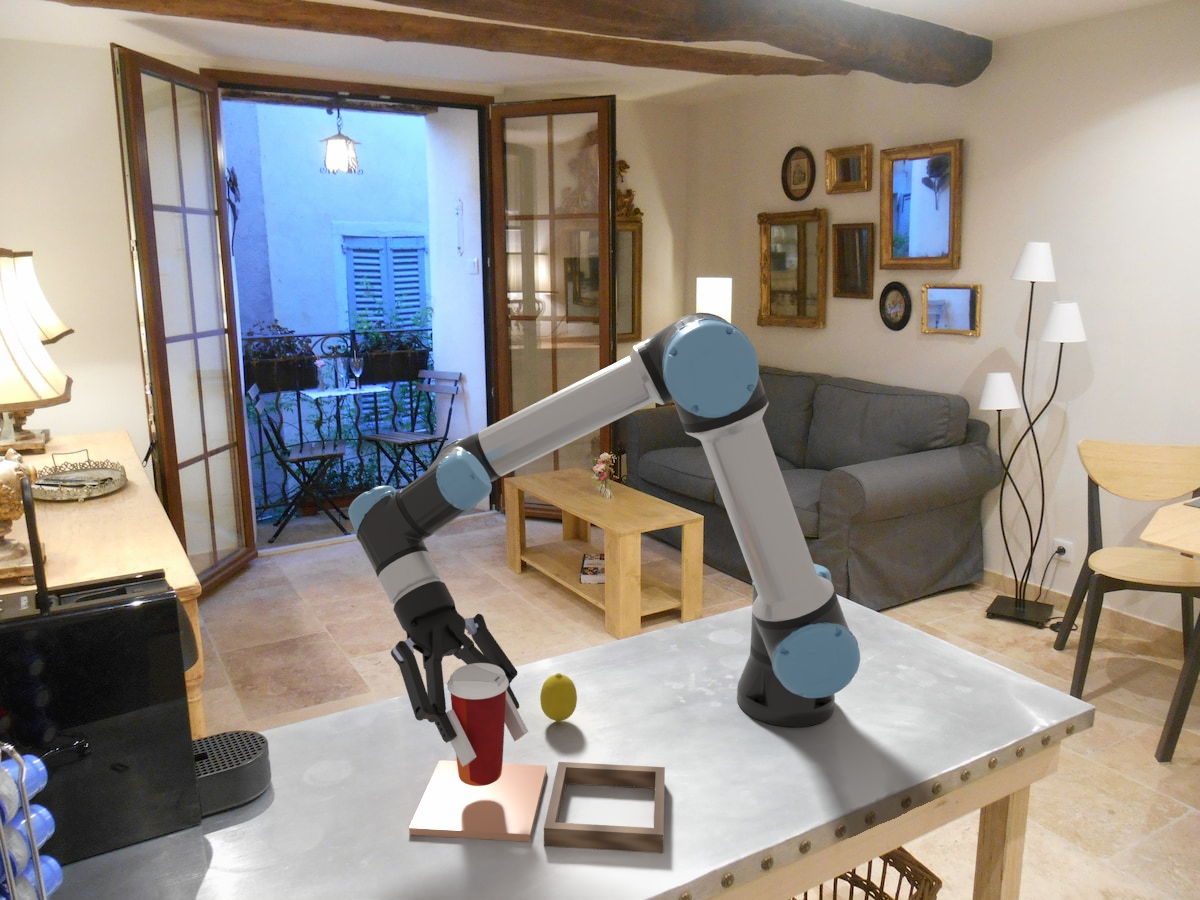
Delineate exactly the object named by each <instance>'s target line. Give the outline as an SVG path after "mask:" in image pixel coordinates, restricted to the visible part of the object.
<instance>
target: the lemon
mask: <svg viewBox="0 0 1200 900" xmlns="http://www.w3.org/2000/svg"><path fill="white" fill-rule="evenodd" d="M577 694H578V693H577V689H576V686H575V684H574V682H573V680H572V679H571V678H570V677H568V676H567V675H565V674H562V673H559V672H558V673H555V674H553V675H550V676H549V677H548V678H547V679H545V681H544V682H543V684H542V687H541V690H540V697H539V699H540V707H541V710H542V712H543V714H544V715H545V716H546V717H547V718H548V719H550V720H551V721H555V722H556V723H561V722H562V721H564V720H567V719H569V718H570V717H571V716H572V715H573V713H574V712H575V710H576V708H577V703H578V695H577Z"/></svg>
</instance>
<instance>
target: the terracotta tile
mask: <svg viewBox="0 0 1200 900" xmlns="http://www.w3.org/2000/svg"><path fill="white" fill-rule="evenodd" d="M547 769H548V767H547V765H542V764H541V765H540V764H523V763H522V764H521V763H520V764H518V763H503V762H502V773H501V776H500V778H499V779H498V780H497V781H495V782H494V783H491V784H489V785H484V786H471V785H468V784H465V783H464V782H462V781H461V780H460V778H459V774H458V767H457V760H441V759H439V761H438V763H437V765H436V767H435V769H434V771H433V774H432V775H431V778H430V780H429V782H428V784H427V787H426V789H425V791H424V794H423V796H422V798H421V800H420V803H419V805H418V807H417V809H416V811H415V814H414V816H413V819H412V820H411V823H410V825H409V827H408V830H409V833H408V835H409V836H426V837H442V838H458V839H459V838H461V839H475V840H478V839H479V840H496V841H509V842H510V841H511V842H513V841H514V842H531V839H532V836H533V831H534V827H535V823H536V819H537V814H538V811H539V805H540V802H541V798H542V793H543V790H544V785H545V781H546V776H547V772H548V771H547Z"/></svg>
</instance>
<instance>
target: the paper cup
mask: <svg viewBox="0 0 1200 900" xmlns="http://www.w3.org/2000/svg"><path fill="white" fill-rule="evenodd" d="M508 685H509V681H508V679H507V677H506V676H505V672H504V671H503V669H502V668H500V667H499V666H496V665H493V664H488V663H473V664H469V665H467V664H465V665H462V666H460V667H458V668H457V669H455V670H454V671H453V672H452V673H451V674H450V677H449V680H447V682H446V686H447V690H448V692H449V694H450V702H451V704H450V705H451V710H452V709H453V710H454V712H455V714H456V716H457V718H458V720H459V722H460V724H461V726H462V728H463V730H464V732H465V734H466V736H467V738H468V740H469V742H470V744H471V746H472V748H473V750H474V752H475V754H476V756H477V757H476V758H475V759H473V760H472V761H471V762H470V763H469V764H467V765H465V766H463V767H462V765H461V763H460V761H459V759H458V757H457V755H456V754H455V756H456V761H457V767H458V774H459V778H460V780H461V781H462V782H464V783H465V784H468V785H471V786H484V785H489V784H491V783H494V782H495V781H497V780H498V779H499V778H500V776H501V773H502V763H503V761H504V744H505V743H504V740H505V725H506V724H505V702H506V689H507V688H508Z"/></svg>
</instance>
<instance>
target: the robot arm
mask: <svg viewBox="0 0 1200 900" xmlns="http://www.w3.org/2000/svg"><path fill="white" fill-rule="evenodd" d="M759 368H760V366H759V358H758V355H757V351H756V349H755V346H754V345H753V343H752V341H751V340H750V339H749V337H748V336H747V335H746V333H744V332H743V330H741V328H739V327H737V326H736V325H734V324H732V323H730V322H729V321H728V320H726V319H725V318H723V317H721V316H720V315H716V314H713V313H710V312H694V313H689V314H687V315H684V316H681V317H679V318H678V319H676V320H675V321H673V322H672V323H670V324H669V325H668V326H666V327H664V328H663V329H661V330H659V331H658V332H656V333H655V334H653V335H651V336H649V337H648V338H646V339H644V340H642V341H640V342H638V343H637V344H634V345H633V346H632V349H631V351H630V353H629V355H628V356H626V357H624V358H622V359H621V360H618V361H617V362H614V363H613V364H611V365H608V366H607V367H604V368H602V369H600V370H599V371H596V372H594V373H593V374H591V375H589V376H587V377H584V378H582V379H580V380H579V381H577V382H574V383H572V384H570V385H568V386H567V387H565V388H563V389H561V390H559V391H557V392H554V393H552V394H551V395H548V396H546V397H545V398H543V399H541V400H538V401H537V402H535V403H533V404H530V405H529V406H527V407H525V408H523V409H521V410H519V411H517V412H515V413H513V414H511V415H509V416H507V417H505V418H503V419H501V420H499V421H497V422H495V423H493V424H491V425H489V426H487V427H485V428H483V429H482V430H479V431H478V432H476V433H473V434H471V435H470V436H467V437H465V438H457V439H456V440H453V441H451V442H450V443H448V444H446V445H445V446H443V448H442V449H441V450H440V451H439V453H438V454H437V457H436V459H434V461H433V462H432V463H431V464H430V466H429V467H428V468H427V470H426V471H425V472H424V473H423V474H421V475H420V476H418V477H417V478H416V479H414V480H413V481H412V482H411V483H409V484H408V485H406V486H405V487H403V488H401V489H400V490H397V489H396V488H395V487H394V486H392V485H380V486H376V487H372V488H371V489H369V491H365V492H363V493H361V494H360V495H358V496H357V497H356V498H355V499H353V501H352V502H351V503H350V505H349V508H348V517H349V520H350V522H351V525H352V527H353V529H354V532H355V537H356V539H357V540H358V542H359V543H360V545H361V547H362V549H363V551H364V552H365V555H366V556H367V559H368V561H369V562H370V564H371V567H372V568H373V570H374V572H375V574H376V577H377V579H378V581H379V583H380V585H381V587H382V589H383V591H384V592H385V595H386V597H387V599H388V601H389V603H390V604H391V605H393V610H392V611H393V612H394V614H395V615H396V616H395V617H396V618H397V620H398V622H399V625H400V626H401V629H402V630H403V631H404V632H405V633H406V639H405V640H399V641H398V642H397V643H396V644H395V646H394V647H393V648H392V649H391V651H390V655H391V656H392V659H394V661H395V663H396V664H397V665H398V666H399V670H400V673H401V676H402V679H403V683H404V686H405V689H406V693H407V694H408V698H409V701H410V705H411V708H412V710H413V714H414V717H415V720H417V721H419V722H420V721H423V720H427V721H428V722H429V723H431V724H432V723H434V724H435V726H436V728H437V730H438V732H439V735H440V736H441V739H442V741H444V742H445V744H447V743H449V742H450V744H451V746H452V748H453V750H454V752H455V756H456V755H457V757H458V759H459V761H460V763H461V765H462V767H463V766H465V765H467V764H469V763H470V762H471V761H472V760H473V759H475V758H476V757H477V756H476V754H475V752H474V750H473V748H472V746H471V744H470V742H469V740H468V738H467V736H466V734H465V732H464V730H463V728H462V726H461V724H460V722H459V720H458V718H457V716H456V714H455V712H454V710H453V709H452V708H451V709H450V710H448V711H447V705H446V703H447V702H446V697H445V685H444V674H443V664H442V663H443V658H445V657H451V656H454V657H455V658H456V659H458V660H462V661H463V663H464V664H465V665H469V664H473V663H488V664H493V665H496V666H499V667H500V668H502V669H503V671H504V672H505V676H506V677H507V679H508V681H509V685H508V688H507V689H506V702H505V724H504V725H505V726H506V728H507V730H508V732H509V733H510V735H511V738H512V740H513V741H514V742H516V741H519V740H520V739H522V738H523V737H524V736H525V735H526V734H528V733H529V729H528V728H527V726H526V724H525V723H524V720H523V718H522V716H521V715H520V712H519V711H518V710H519V709H520V704H519V701H518V699H517V698H516V695H515V694H514V692H513V690H512V688H511V683H512V682H513V680H514V679H515V678H516V677H517V676H518V673H519V672H518V670H517V668H516V667H515V666H514V665H513V663H512V662H511V660H510V658H508V656H507V655H506V653H505V652H504V651H503V649H502V647H501V646H500V644H499V643H498V642H497V640H496V639H495V638H494V636H493V634H492V633H491V632H490V630H489V629H488V626H487V623H486V621H485V617H484V615H483V614H481V613H477V614H476V615H475V616H474V617H467V618H464V617H463V616H462V615H461V614H460V613H459V612H458V611H457V609H456V604H455V600H454V598H453V596H452V595H451V593H450V591H449V589H448V587H447V585H446V583H445V582H443V581H441V580H442V575H441V572H440V571H439V569H438V567H437V566H436V563H435V562H434V560H433V558H432V555H431V554H430V552H429V550H428V548H427V547H426V543H425V540H426V539H428V538H430V537H431V536H433V535H434V534H435V533H436V532H438V531H439V530H441V529H443V528H444V527H445V526H447V525H448V524H450V523H452V522H454V520H456V519H458V518H459V517H461V516H462V515H463V514H465V513H466V512H468V511H470V510H473V509H474V508H476V507H477V506H478V504H480V503H481V502H482V501H483V500H484V499H486V498H487V497H488V496H489V495H490V494H491V493H492V488H493V487H492V485H493V484H492V482H494V481H496V480H498V479H500V478H502V477H503V476H505V475H507V474H509V473H511V472H513V471H515V470H518V469H520V468H522V467H523V466H525V465H527V464H530V463H531V462H533V461H536V460H538V459H541V458H542V457H544V456H546V455H547V454H550V453H552V452H554V451H556V450H559V449H560V448H563V447H564V446H567V445H569V444H570V443H572V442H574V441H576V440H578V439H580V438H583V437H585V436H586V435H589V434H591V433H593V432H595V431H596V430H599V429H601V428H603V427H605V426H607V425H609V424H611V423H612V422H613V423H614V422H615V421H617V420H619V419H622V418H623V417H625V416H628V415H630V414H631V413H633V412H635V411H637V410H640V409H642V408H643V407H645V406H647V405H649V404H651V403H655V404H659V405H661V406H663V405H665V404H667V403H669V402H672V401H673V403H674V406H675V408H676V411H677V413H678V417H679V420H680V422H681V424H682V427H683V430H684V432H685V434H686V435H688V436H690V437H693V438H695V439H697V440H699V441H700V442H701V445H702V448H703V451H704V453H705V456H706V459H707V462H708V465H709V467H710V469H711V472H712V474H713V477H714V481H715V483H716V486H717V488H718V491H719V494H720V496H721V499H722V502H723V504H724V507H725V509H726V512H727V516H728V519H729V520H730V524H731V525H732V528H733V531H734V534H735V537H736V539H737V542H738V545H739V547H740V551H741V553H742V555H743V558H744V562H745V564H746V567H747V569H748V572H749V575H750V577H751V579H752V582H751V585H752V588H753V589H752V606H751V625H750V626H751V631H750V633H751V634H750V649H749V651H750V652H749V656H748V659H747V660H746V663H745V665H744V669H743V671H742V673H741V675H740V678H739V681H738V682H737V689H736V691H737V692H736V702H737V705H738V707H739V708H740V709H741V710H742V711H743V712H744V713H746V714H747V715H748V716H750V717H752V718H754V719H755V720H757V721H761V722H762V723H763V722H764V723H766V724H770V725H775V726H781V727H791V728H797V727H798V728H800V727H801V728H803V727H809V726H815V725H818V724H821V723H823V722H825V721H827V720H828V719H830V718H831V716H832V715H833V713H834V710H835V700H836V698H835V697H836V696H835V694H837V693H838V692H841V691H842V690H843V689H845V688H846V687H847V686H848V685H849V684H850V683H851V682H852V681H853V678H855V675H856V674H858V673H857V672H858V670H859V667H860V665H861V664H860V663H861V652H860V647H859V643H858V639H857V638H856V636H855V635H854V634H853V633H852V631H851V630H850V628H849V626H848V623H847V620H846V618H845V616H844V612H843V610H842V606H841V603H840V601H839V598H838V595H837V593H836V590H835V588H834V584H833V582H832V574H831V571H830V570H829V568H827V567H825V566H823V565H821V564H816V563H814V562H813V558H812V556H811V553H810V551H809V550H810V549H809V547H808V544H807V542H806V539H805V536H804V533H803V531H802V530H803V529H802V527H801V525H800V523H799V519H798V516H797V513H796V511H795V508H794V504H793V501H792V499H791V497H790V494H789V491H788V489H787V486H786V483H785V480H784V476H783V473H782V471H781V468H780V465H779V463H778V460H777V456H776V455H775V451H774V449H773V446H772V443H771V440H770V437H769V435H768V432H767V428H766V426H765V423H764V420H763V417H764V414H765V412H766V410H767V408H768V407H769V399H768V396H767V394H766V391H765V389H764V388H765V387H764V384H763V382H762V379H761V376H760V373H759V372H760V370H759ZM465 630H466V631H467V633H465ZM468 635H470V636H471V638H472V639H471V638H470V637H469V636H468ZM475 645H476V646H477V647H478V648H477V647H476V646H475ZM415 651H416V652H419V653H420V654H422V655H421V656H422V665H423V669H424V671H425V679H426V686H425V683H424V679H423V677H422V674H421V671H420V668H419V664H418V662H417V658H416V656H415V655H414V654H415V653H414V652H415ZM457 757H456V758H457Z"/></svg>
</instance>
